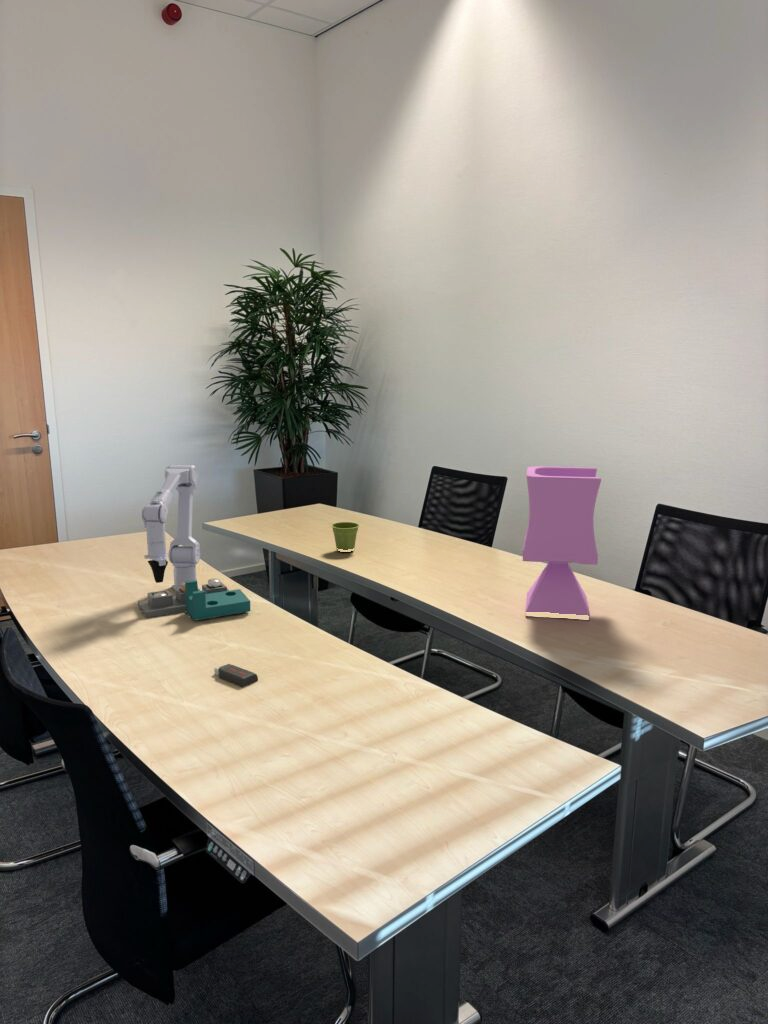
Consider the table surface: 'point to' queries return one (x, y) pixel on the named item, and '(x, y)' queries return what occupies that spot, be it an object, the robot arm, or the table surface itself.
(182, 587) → the middle knob
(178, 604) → the control panel
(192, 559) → the robot arm
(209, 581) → the knob
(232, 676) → the usb drive
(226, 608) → the teal l-shaped bracket
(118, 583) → the table surface
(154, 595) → the knob
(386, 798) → the table surface
